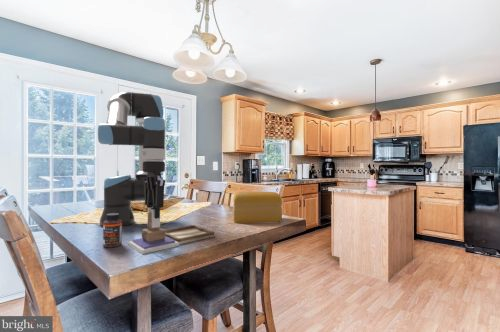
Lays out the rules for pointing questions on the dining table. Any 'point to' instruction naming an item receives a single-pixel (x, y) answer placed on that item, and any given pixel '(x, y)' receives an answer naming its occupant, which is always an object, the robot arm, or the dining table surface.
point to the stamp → (152, 232)
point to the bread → (257, 207)
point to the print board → (188, 234)
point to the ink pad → (152, 245)
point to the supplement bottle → (112, 231)
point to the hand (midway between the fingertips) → (153, 226)
